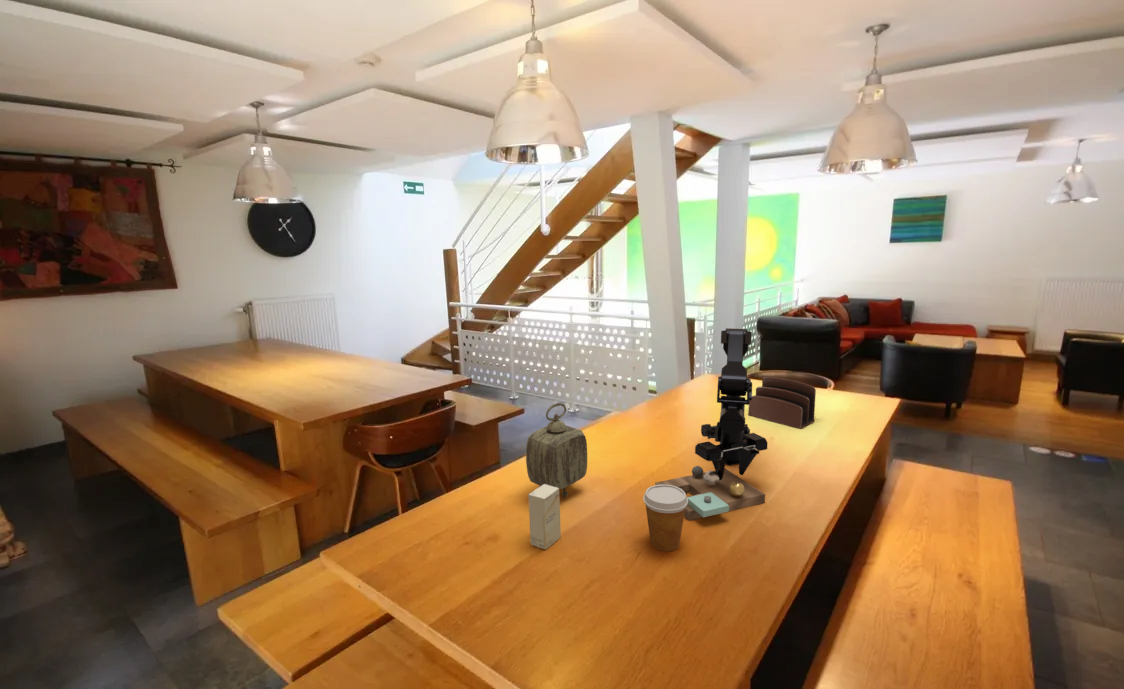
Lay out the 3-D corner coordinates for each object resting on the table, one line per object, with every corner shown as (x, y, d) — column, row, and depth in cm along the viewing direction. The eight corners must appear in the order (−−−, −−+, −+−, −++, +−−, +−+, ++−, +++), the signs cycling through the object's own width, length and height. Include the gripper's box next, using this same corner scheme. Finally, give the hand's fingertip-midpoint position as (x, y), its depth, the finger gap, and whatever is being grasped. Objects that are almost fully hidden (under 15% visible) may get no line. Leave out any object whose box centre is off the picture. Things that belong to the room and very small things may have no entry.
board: (725, 476, 147) (725, 468, 146) (764, 502, 132) (765, 494, 131) (655, 490, 140) (655, 482, 139) (688, 520, 125) (689, 511, 124)
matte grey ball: (699, 473, 144) (699, 463, 143) (705, 478, 141) (705, 467, 140) (689, 475, 143) (689, 465, 142) (695, 480, 140) (696, 469, 139)
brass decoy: (738, 491, 133) (738, 478, 133) (747, 497, 130) (748, 484, 129) (726, 493, 132) (726, 480, 131) (735, 500, 129) (735, 486, 128)
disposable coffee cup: (689, 535, 119) (690, 486, 116) (684, 560, 110) (685, 507, 108) (647, 528, 122) (647, 481, 120) (639, 552, 113) (639, 501, 111)
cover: (711, 497, 130) (711, 488, 130) (728, 511, 124) (729, 501, 123) (686, 503, 128) (686, 493, 127) (703, 517, 122) (703, 507, 121)
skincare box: (545, 550, 115) (543, 499, 112) (529, 544, 117) (527, 494, 115) (561, 536, 120) (560, 487, 117) (545, 531, 122) (544, 482, 120)
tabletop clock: (566, 479, 147) (564, 394, 142) (590, 490, 141) (589, 401, 136) (527, 498, 138) (523, 407, 132) (551, 510, 131) (548, 415, 126)
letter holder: (761, 409, 200) (763, 373, 197) (814, 422, 185) (817, 384, 182) (747, 416, 194) (749, 379, 191) (801, 430, 179) (803, 390, 176)
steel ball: (714, 478, 139) (711, 465, 138) (724, 484, 136) (720, 472, 134) (702, 484, 138) (698, 472, 137) (711, 491, 135) (707, 479, 133)
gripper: (741, 406, 146) (739, 459, 149) (683, 416, 139) (682, 471, 142) (770, 418, 135) (767, 475, 138) (708, 430, 129) (707, 489, 132)
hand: (730, 477), depth 138 cm, fingers open, 6 cm apart
